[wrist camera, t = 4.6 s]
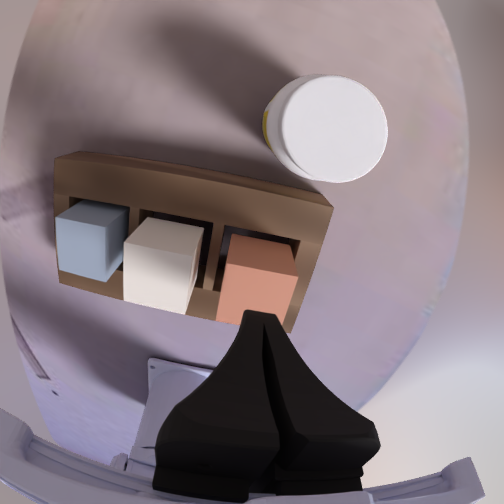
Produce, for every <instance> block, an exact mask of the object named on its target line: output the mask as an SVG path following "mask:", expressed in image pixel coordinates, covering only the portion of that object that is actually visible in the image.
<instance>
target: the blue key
mask: <svg viewBox="0 0 504 504" xmlns="http://www.w3.org/2000/svg"><path fill="white" fill-rule="evenodd" d="M129 215H130V207H129V206H123V205H117V204H112V203H106V202H100V201H95V200H89V199H84V200H82V201H81V202H79V203H77V204H76V205H74V206H72V207H71V208H69V209H67V210H66V211H64V212H63V213H61V214H59V215H58V216H56V217H55V220H56V240H57V253H58V264H59V270H62V271H65V272H69V273H73V274H76V275H80V276H84V277H87V278H91V279H95V280H99V281H103V282H107V280H108V279H109V278H110V277H111V275H112V274H113V273H114V271H115V270H116V269H117V268H118V266H119V265H120V264H121V263H122V261H123V256H124V242H125V241H126V239H127V238H128V232H129Z"/></svg>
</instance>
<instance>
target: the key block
mask: <svg viewBox="0 0 504 504" xmlns="http://www.w3.org/2000/svg"><path fill="white" fill-rule="evenodd" d="M84 199H89V200H95V201H100V202H106V203H112V204H117V205H123V206H129V207H130V215H129V232H128V237H129V236H130V235H131V234H132V233H133V232H134V231H135V230H136V229H137V228H138V227H139V226H140V225H141V224H142V223H143V221H144V220H145V219H146V218H147V217H150V218H153V211H156V212H161V213H167V214H172V215H177V216H182V217H188V218H193V219H198V220H203V221H208V222H213V223H214V225H213V231H212V236H211V242H210V248H209V254H208V260H207V266H205V265H200V264H198V271H197V278H196V281H195V285H194V288H193V291H192V294H191V297H190V300H189V304H188V307H187V310H186V313H185V315H189V316H194V317H199V318H204V319H209V320H214V321H216V315H217V309H218V303H219V297H220V291H221V285H222V280H223V275H224V270H225V269H220V268H217V267H218V261H219V256H220V251H221V245H222V240H223V235H224V230H225V225H229V226H234V227H239V228H243V229H248V230H253V231H258V232H263V233H268V234H273V235H278V236H282V237H287V238H290V240H289V243H288V245H290V247H291V251H292V255H293V258H294V262H295V266H296V269H297V273H298V280H297V283H296V286H295V289H294V292H293V295H292V298H291V301H290V304H289V307H288V310H287V313H286V315H285V318H284V321H283V324H282V327H283V328H284V330H285V332H286V333H291V331H292V329H293V326H294V323H295V321H296V318H297V315H298V313H299V310H300V307H301V304H302V302H303V299H304V296H305V293H306V291H307V288H308V285H309V282H310V279H311V276H312V274H313V271H314V268H315V265H316V262H317V259H318V256H319V253H320V250H321V247H322V244H323V241H324V238H325V235H326V232H327V229H328V225H329V222H330V219H331V216H332V213H333V209H334V207H333V206H332V205H331V204H330V203H329V202H328V200H327V199H326V198H325V197H324V196H323V195H322V194H318V193H314V192H310V191H306V190H302V189H298V188H294V187H289V186H285V185H281V184H276V183H272V182H267V181H263V180H258V179H253V178H249V177H244V176H239V175H234V174H229V173H224V172H219V171H213V170H208V169H202V168H197V167H191V166H185V165H179V164H173V163H167V162H160V161H154V160H147V159H140V158H132V157H125V156H117V155H109V154H100V153H91V152H81V151H78V152H74V153H71V154H67V155H64V156H60V157H57V158H55V161H54V229H55V245H56V257H57V267H58V275H59V283H62V284H65V285H69V286H72V287H75V288H79V289H82V290H86V291H90V292H93V293H97V294H101V295H104V296H108V297H112V298H116V299H120V300H124V294H123V261H122V263H121V264H120V265H119V266H118V268H117V269H116V270H115V271H114V273H113V274H112V275H111V277H110V278H109V279H108V280H107V282H103V281H99V280H95V279H91V278H87V277H84V276H80V275H76V274H73V273H69V272H65V271H62V270H59V264H58V253H57V240H56V220H55V217H56V216H58V215H59V214H61V213H63V212H64V211H66V210H67V209H69V208H71V207H72V206H74V205H76V204H77V203H79V202H81V201H82V200H84ZM179 314H180V313H179Z"/></svg>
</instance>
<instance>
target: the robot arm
mask: <svg viewBox="0 0 504 504" xmlns="http://www.w3.org/2000/svg"><path fill="white" fill-rule="evenodd" d="M148 387H149V396H148V399H147V403H146V406H145V409H144V413H143V416H142V419H141V423H140V426H139V430H138V433H137V437H136V440H135V444H134V446H132V450H131V453H130V457H129V459H128V455H127V454H124V453H120V455H117V456H114V457H113V459H112V461H111V464H110V466H108V465H105V464H102V463H99V462H97V461H94V460H91V459H88V458H86V457H83V456H81V455H78V454H76V453H73V452H71V451H68V450H66V449H64V448H61V447H59V446H57V445H55V444H53V443H50V442H48V441H46V440H44V439H42V438H40V437H38V436H36V435H34V434H33V432H32V430H31V429H30V427H29V426H28V425H27V424H26V423H25V422H23V421H22V420H20V419H19V418H17V417H15V416H13V415H12V414H10V413H8V412H6V411H5V410H3V409H1V408H0V481H1V482H3V483H4V484H5V485H7V486H8V487H10V488H12V489H13V490H15V491H17V492H18V493H20V494H21V495H23V496H25V497H27V498H28V499H30V500H32V501H34V502H36V503H37V504H474V503H476V502H478V501H479V500H481V499H483V498H484V497H485V493H484V490H483V488H482V485H481V482H480V480H479V477H478V475H477V472H476V469H475V467H474V465H473V462H472V460H471V457H467V458H464V459H461V460H458V461H455V462H453V463H451V464H450V465H448V466H446V467H445V468H444V469H443V470H442V471H441V472H438V473H434V474H431V475H427V476H423V477H419V478H416V479H411V480H407V481H403V482H398V483H393V484H388V485H382V486H377V487H371V488H364V489H362V484H361V479H360V477H362V476H363V474H364V473H363V469H362V466H363V465H364V464H365V463H367V462H368V461H369V460H370V459H371V458H372V457H374V455H375V454H376V453H377V452H378V451H379V449H380V446H381V445H380V441H379V438H378V433H377V430H376V428H375V425H374V423H373V422H372V421H370V420H369V419H367V418H365V417H364V416H362V415H361V414H359V413H358V412H356V411H355V410H353V409H352V408H351V407H349V406H348V405H347V404H345V403H344V402H343V401H341V400H340V399H339V398H338V397H337V396H335V395H334V394H333V393H332V392H331V391H330V390H329V389H328V388H327V387H326V386H325V385H324V384H323V383H322V382H321V381H320V380H319V379H318V378H317V377H316V376H315V374H314V373H313V372H312V371H311V370H310V369H309V367H308V366H307V365H306V364H305V362H304V361H303V359H302V358H301V357H300V355H299V354H298V352H297V351H296V349H295V347H294V346H293V344H292V342H291V341H290V339H289V337H288V336H287V334H286V332H285V330H284V328H283V327H282V325H281V323H280V321H279V319H278V317H277V315H276V314H272V313H266V312H260V311H254V310H249V309H247V310H245V311H244V312H243V316H242V320H241V324H240V328H239V331H238V333H237V336H236V338H235V340H234V342H233V343H232V345H231V347H230V348H229V350H228V352H227V353H226V355H225V356H224V357H223V359H222V360H221V362H220V363H219V364H218V366H217V367H216V368H215V369H214V370H208V369H203V368H198V367H193V366H188V365H183V364H178V363H174V362H169V361H165V360H161V359H156V358H149V360H148Z"/></svg>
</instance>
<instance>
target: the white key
mask: <svg viewBox="0 0 504 504" xmlns="http://www.w3.org/2000/svg"><path fill="white" fill-rule="evenodd" d="M203 233H204V228H202V227H197V226H192V225H187V224H182V223H177V222H171V221H166V220H161V219H156V218H150V217H147V218H146V219H145V220H144V221H143V223H142V224H141V225H140V226H139V227H138V228H137V229H136V230H135V231H134V232H133V233H132V234H131V235H130V236H129V237H128V238H127V239H126V241H125V242H124V256H123V294H124V301H128V302H132V303H136V304H140V305H144V306H148V307H153V308H157V309H161V310H166V311H170V312H175V313H180V314H184V315H185V313H186V310H187V307H188V304H189V300H190V297H191V294H192V291H193V288H194V285H195V281H196V278H197V271H198V264H199V258H200V251H201V245H202V239H203Z"/></svg>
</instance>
